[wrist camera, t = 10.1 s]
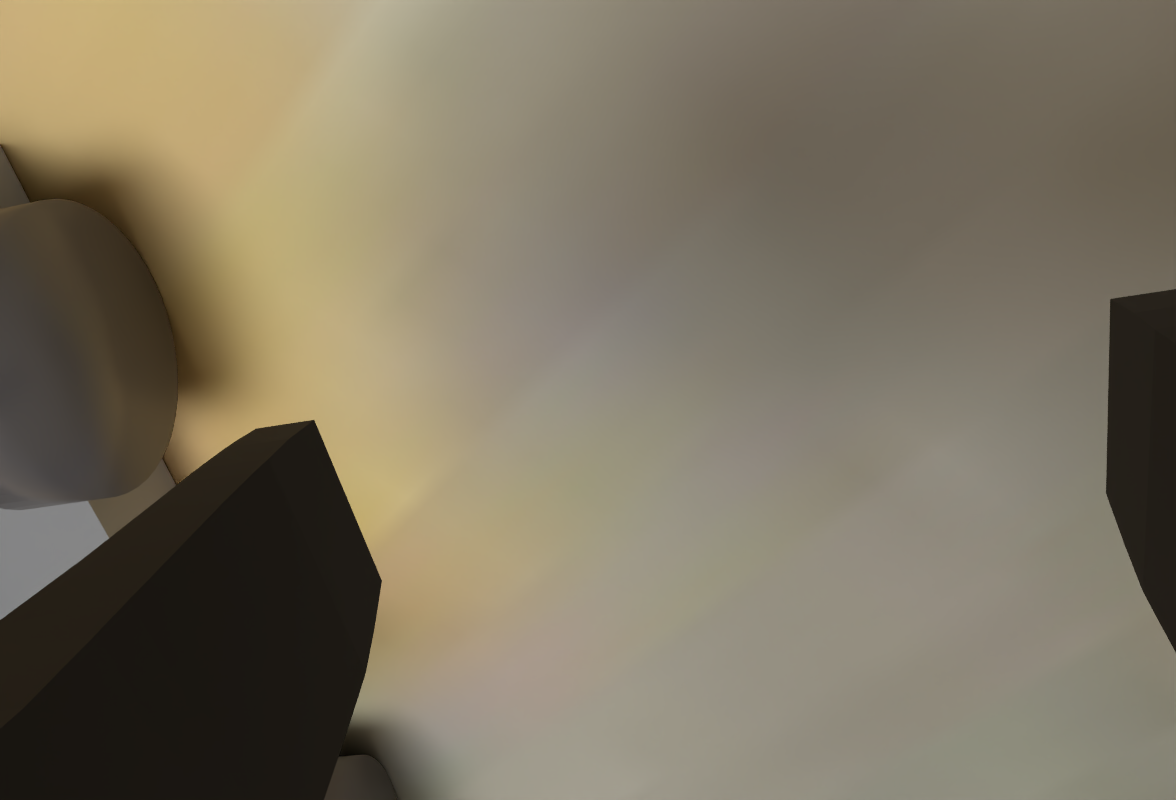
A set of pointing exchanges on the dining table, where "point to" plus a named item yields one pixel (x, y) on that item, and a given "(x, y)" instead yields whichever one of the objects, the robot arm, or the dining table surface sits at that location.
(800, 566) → the dining table surface
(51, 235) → the chassis
